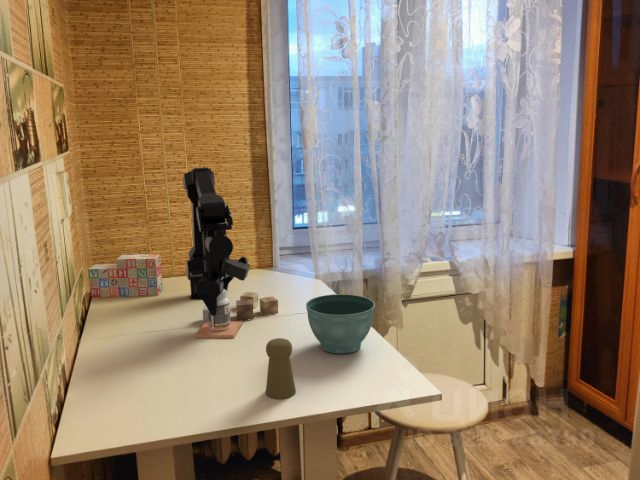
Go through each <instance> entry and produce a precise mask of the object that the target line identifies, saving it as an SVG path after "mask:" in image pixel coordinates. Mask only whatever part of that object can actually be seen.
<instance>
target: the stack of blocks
mask: <svg viewBox="0 0 640 480" xmlns="http://www.w3.org/2000/svg"><path fill="white" fill-rule="evenodd" d="M161 258H162V257H161V253H160V254H159V253H157V254H150V253H141V254H122V255H120V256H119V257H118V258H116V260H115V261H116V264H115V263H113V264H112V263H105V264H104V263H103V264H96V263H95V264H94V265H92V266H90V267H89V268H88V269H87V273H88V274H87V275H88V279H89V280H88V281H89V289H90V290H89V291H90V297H91V298H109V297H110V298H111V297H112V298H118V297H159V295H161V293H162V292H163V291H164V290H163V289H164V286H163V275H162V271H163V270H162V260H161Z"/></svg>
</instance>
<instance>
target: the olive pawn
mask: <svg viewBox="0 0 640 480" xmlns="http://www.w3.org/2000/svg"><path fill="white" fill-rule="evenodd" d="M265 352H266V355H267V357H268V367H267V375H266V386H265V395H266V397H268V398H270V399H272V400H273V399H274V400H286V399H290V398H291V397H294V396H295V394H296V392H297V390H296V383H295V378H294V372H293V366H292V361H291V355H292V353H293V344H292V343H291V342H290V340H288V339H287V338H282V337H278V338H273V339H271V340H269V341H268V342H267V343H266V345H265Z"/></svg>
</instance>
